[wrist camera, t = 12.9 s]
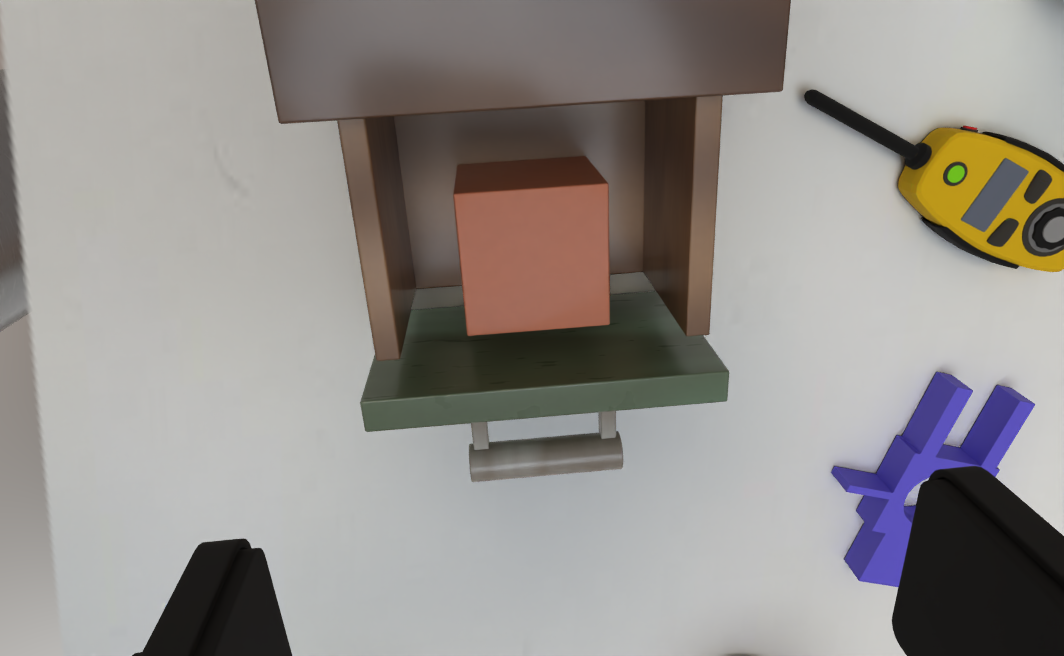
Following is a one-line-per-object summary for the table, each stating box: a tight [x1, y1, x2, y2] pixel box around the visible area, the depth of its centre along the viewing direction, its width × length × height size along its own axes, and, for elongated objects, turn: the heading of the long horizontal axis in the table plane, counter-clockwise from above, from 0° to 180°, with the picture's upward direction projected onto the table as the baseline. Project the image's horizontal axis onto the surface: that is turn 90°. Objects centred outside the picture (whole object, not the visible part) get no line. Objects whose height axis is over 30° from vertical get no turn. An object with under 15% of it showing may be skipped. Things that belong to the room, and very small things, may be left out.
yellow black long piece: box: [804, 90, 1064, 272], centre depth 29 cm, size 5×2×15 cm
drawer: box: [337, 95, 729, 482], centre depth 25 cm, size 18×12×8 cm
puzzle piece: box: [831, 372, 1035, 587], centre depth 36 cm, size 10×12×2 cm
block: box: [453, 156, 610, 336], centre depth 25 cm, size 5×5×5 cm
